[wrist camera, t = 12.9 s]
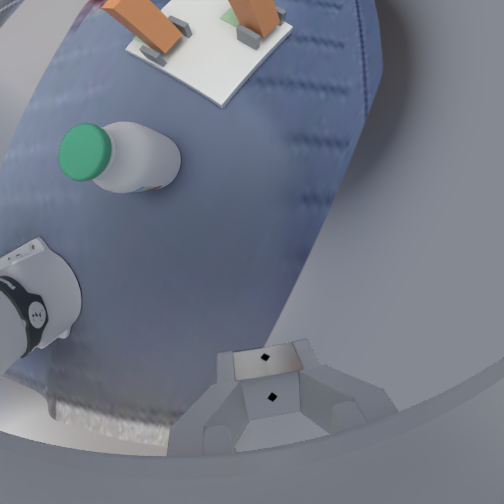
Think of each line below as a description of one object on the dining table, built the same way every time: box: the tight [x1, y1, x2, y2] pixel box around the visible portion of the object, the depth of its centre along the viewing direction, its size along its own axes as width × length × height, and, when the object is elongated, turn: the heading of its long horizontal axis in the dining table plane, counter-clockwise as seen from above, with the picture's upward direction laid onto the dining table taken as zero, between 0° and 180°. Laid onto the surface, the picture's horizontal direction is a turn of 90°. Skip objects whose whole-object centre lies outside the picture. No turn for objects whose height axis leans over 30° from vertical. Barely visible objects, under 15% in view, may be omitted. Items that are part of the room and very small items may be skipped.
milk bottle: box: [59, 121, 181, 193], centre depth 28 cm, size 8×8×20 cm
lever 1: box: [101, 0, 183, 54], centre depth 25 cm, size 4×4×12 cm
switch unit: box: [125, 0, 293, 109], centre depth 30 cm, size 16×18×6 cm
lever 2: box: [228, 0, 280, 38], centre depth 25 cm, size 4×4×12 cm
